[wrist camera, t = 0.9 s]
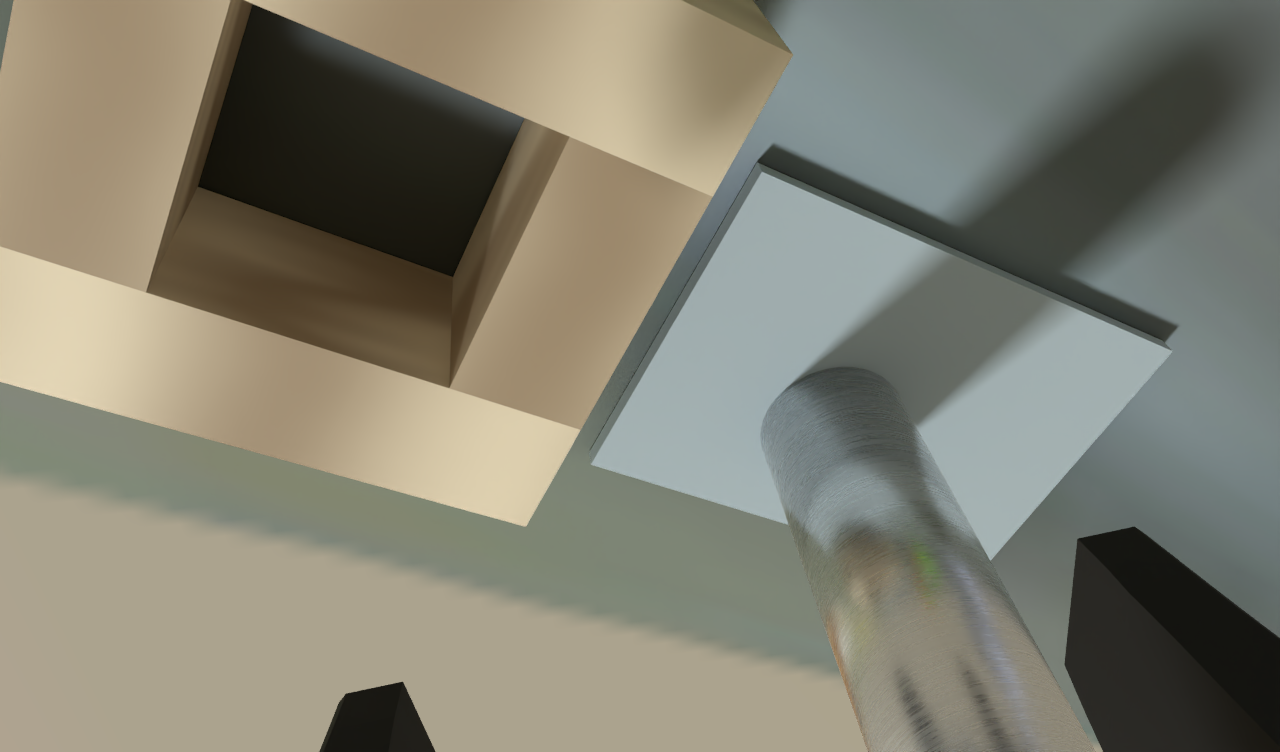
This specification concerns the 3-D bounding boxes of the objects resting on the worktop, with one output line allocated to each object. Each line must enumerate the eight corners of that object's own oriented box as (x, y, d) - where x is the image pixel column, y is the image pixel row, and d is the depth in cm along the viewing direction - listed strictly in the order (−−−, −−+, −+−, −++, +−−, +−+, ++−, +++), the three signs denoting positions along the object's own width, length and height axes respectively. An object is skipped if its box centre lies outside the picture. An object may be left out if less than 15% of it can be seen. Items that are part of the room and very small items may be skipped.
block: (740, -18, 17) (793, 54, 14) (518, 406, 21) (525, 526, 19) (151, -314, 14) (69, -299, 11) (27, 250, 18) (-56, 366, 15)
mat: (1163, 341, 23) (1172, 351, 22) (966, 568, 26) (972, 580, 25) (757, 162, 19) (761, 172, 19) (589, 452, 22) (590, 464, 22)
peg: (918, 367, 22) (1146, 749, 14) (884, 482, 23) (1073, 876, 16) (773, 365, 21) (932, 760, 14) (749, 483, 23) (880, 889, 15)
